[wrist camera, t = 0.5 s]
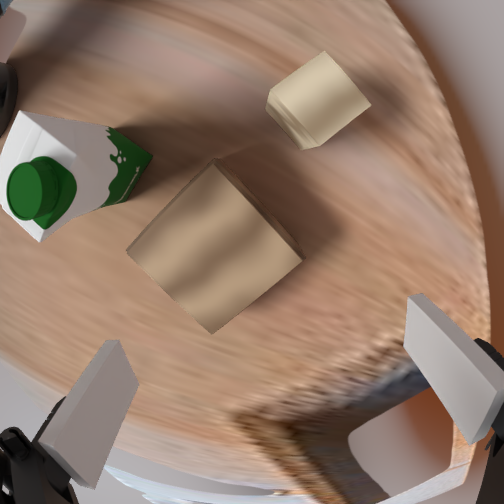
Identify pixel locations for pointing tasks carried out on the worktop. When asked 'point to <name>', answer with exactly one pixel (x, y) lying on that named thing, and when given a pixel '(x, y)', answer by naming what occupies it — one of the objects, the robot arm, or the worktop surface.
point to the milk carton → (64, 170)
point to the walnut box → (215, 247)
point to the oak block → (315, 102)
